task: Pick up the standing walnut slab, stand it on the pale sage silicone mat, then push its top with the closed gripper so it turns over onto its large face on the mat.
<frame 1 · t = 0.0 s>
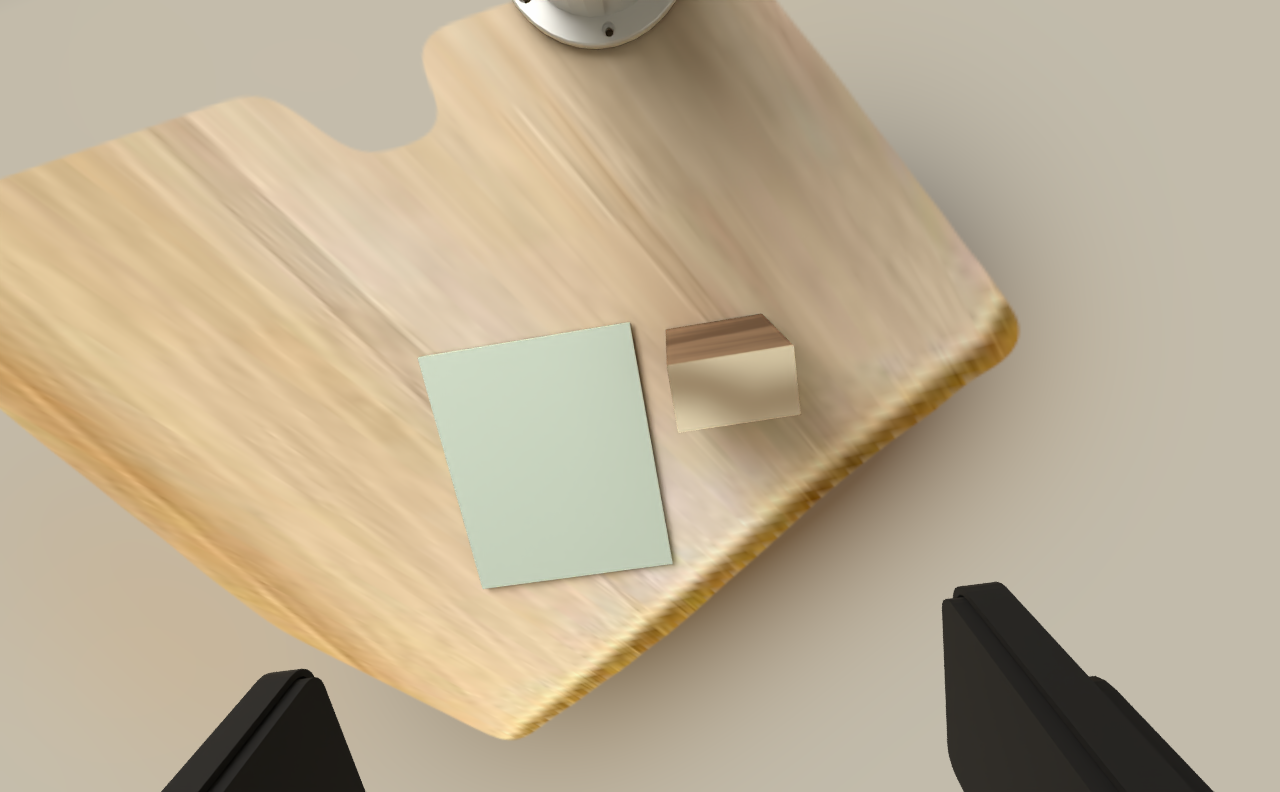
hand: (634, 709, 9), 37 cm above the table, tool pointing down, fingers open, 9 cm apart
walnut slab: (717, 348, 45), on the table
sage mat: (551, 463, 48), on the table
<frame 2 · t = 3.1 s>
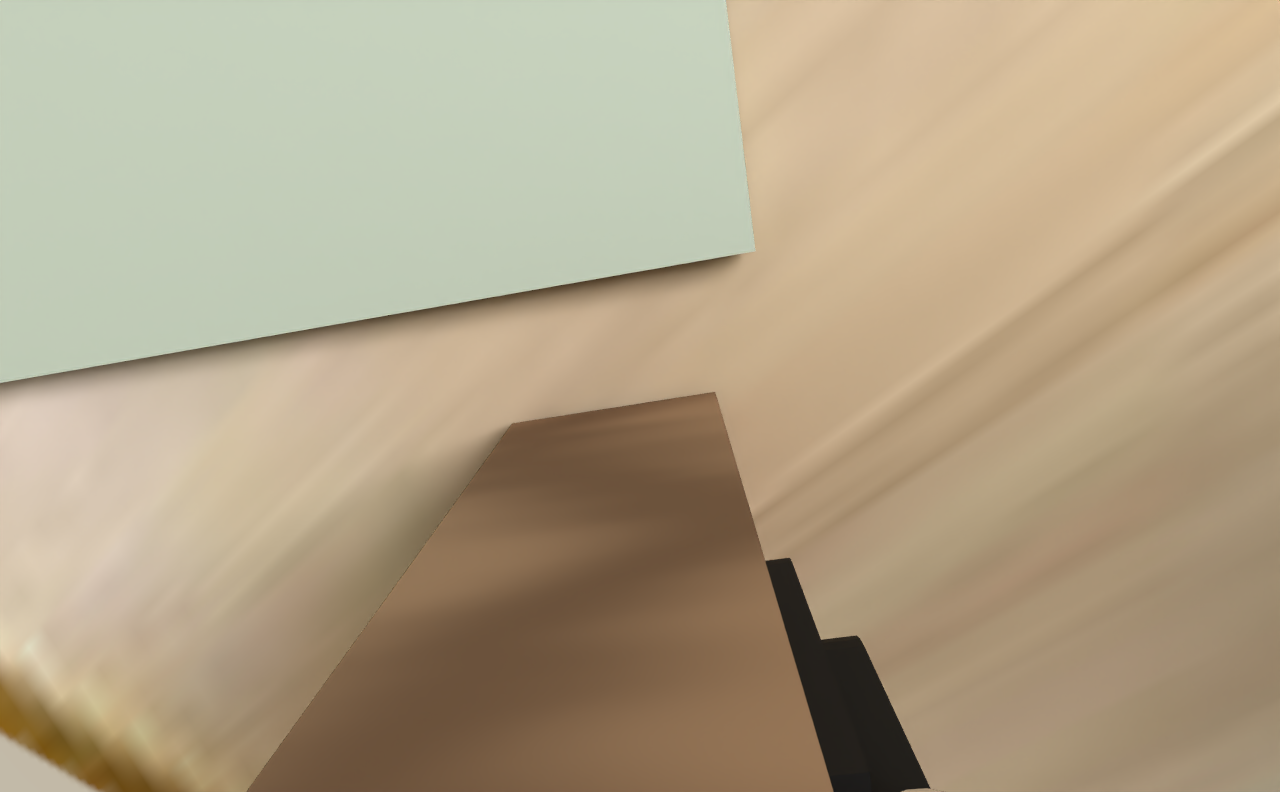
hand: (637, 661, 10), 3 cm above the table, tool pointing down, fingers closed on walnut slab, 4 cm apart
walnut slab: (642, 565, 13), on the table, touching gripper
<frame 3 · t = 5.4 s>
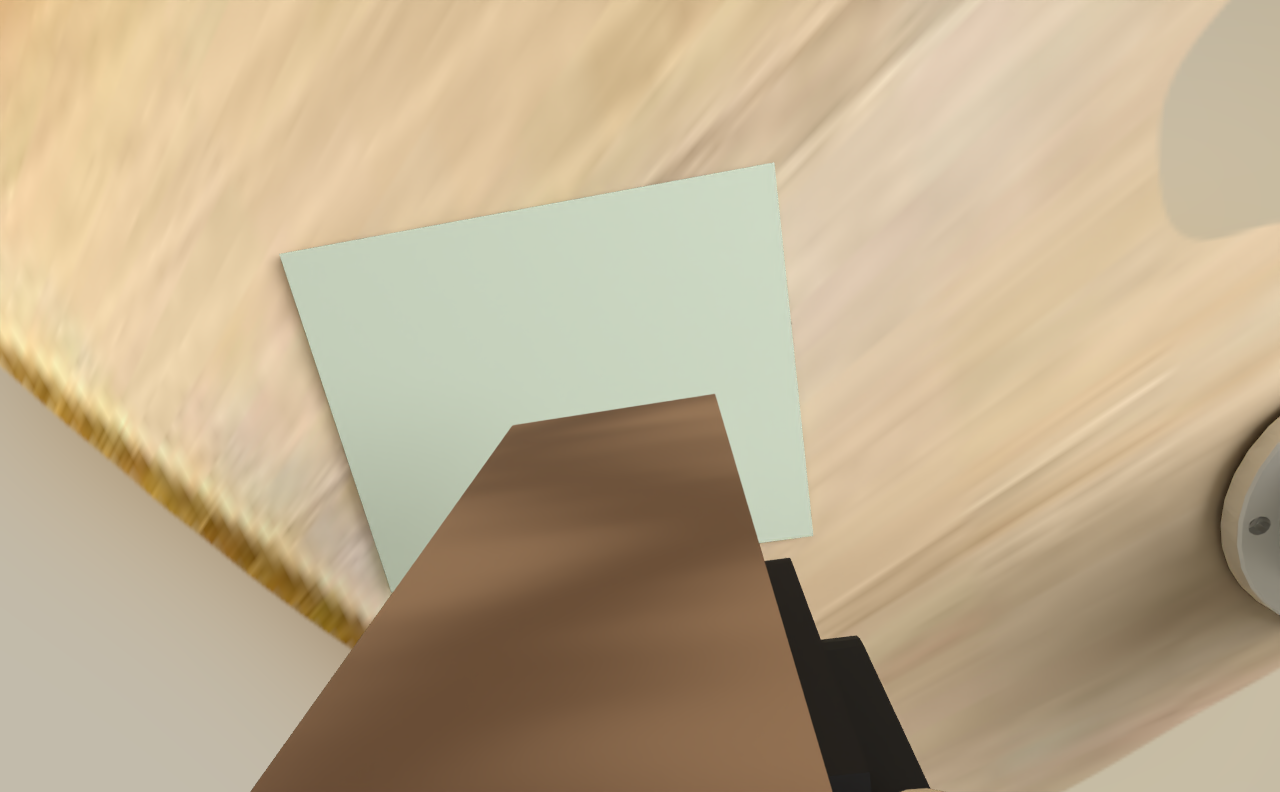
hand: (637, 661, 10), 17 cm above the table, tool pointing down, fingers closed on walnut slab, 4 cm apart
walnut slab: (643, 566, 13), point 14 cm above the table, touching gripper
sage mat: (561, 399, 26), on the table
when the fingers open (4 cm above the table, at t = 8.0 s): walnut slab stays where it is, resting on sage mat.
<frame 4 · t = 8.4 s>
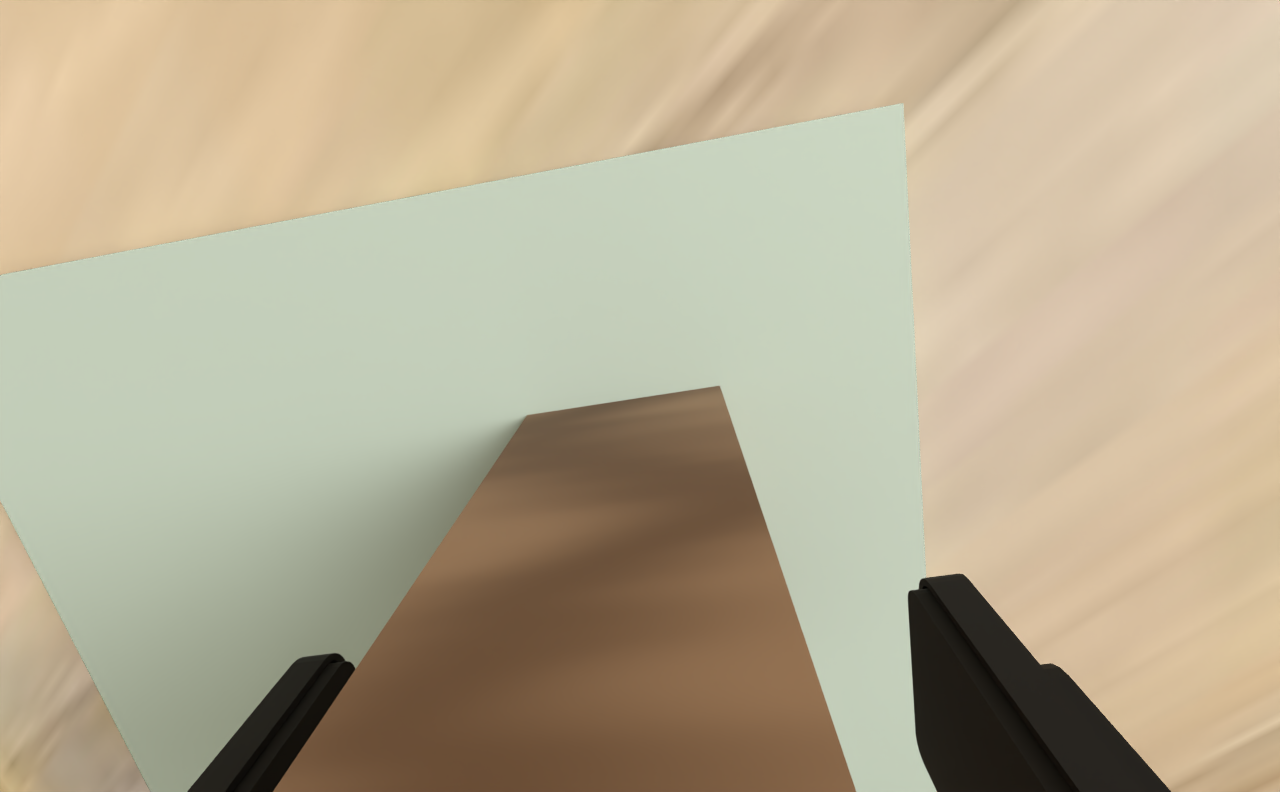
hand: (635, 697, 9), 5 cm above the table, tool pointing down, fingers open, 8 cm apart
walnut slab: (650, 550, 13), resting on sage mat
sage mat: (473, 563, 14), on the table
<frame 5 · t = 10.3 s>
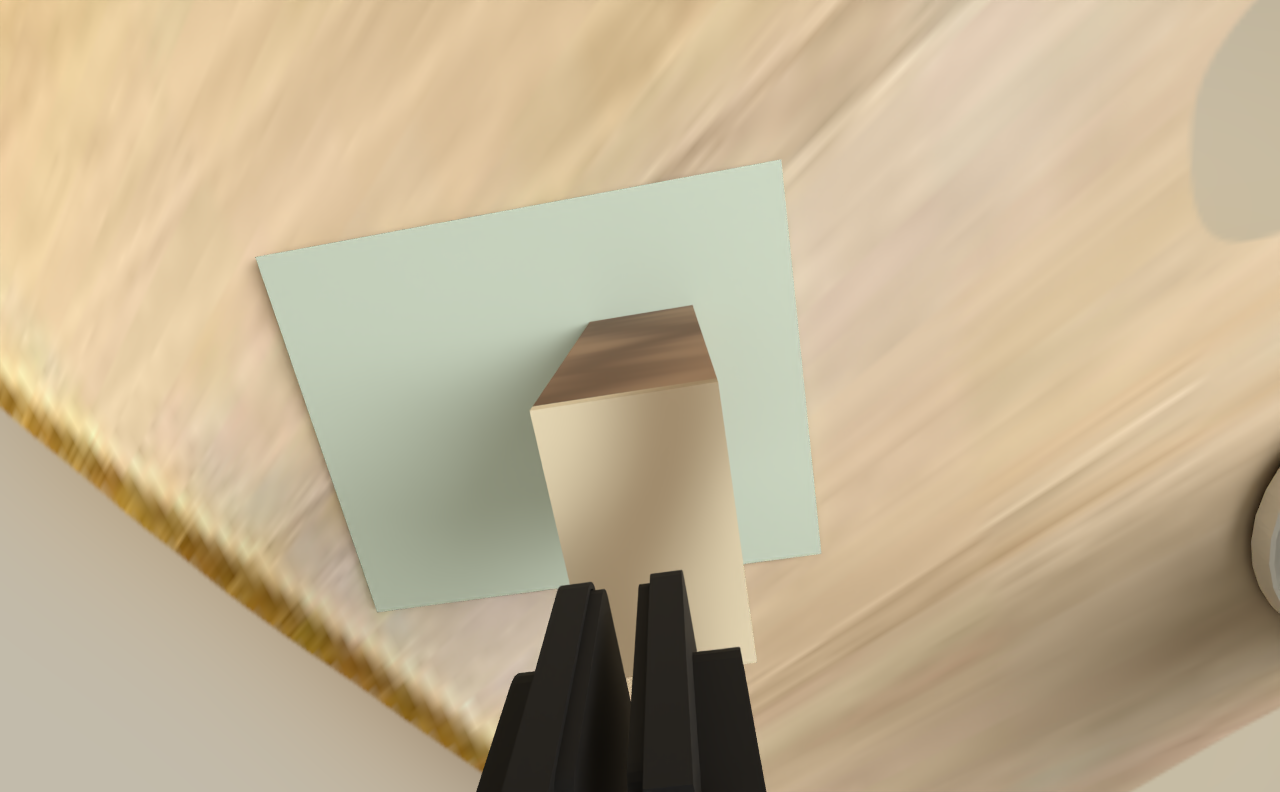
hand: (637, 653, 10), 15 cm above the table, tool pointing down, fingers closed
walnut slab: (655, 399, 24), resting on sage mat
sage mat: (555, 410, 25), on the table
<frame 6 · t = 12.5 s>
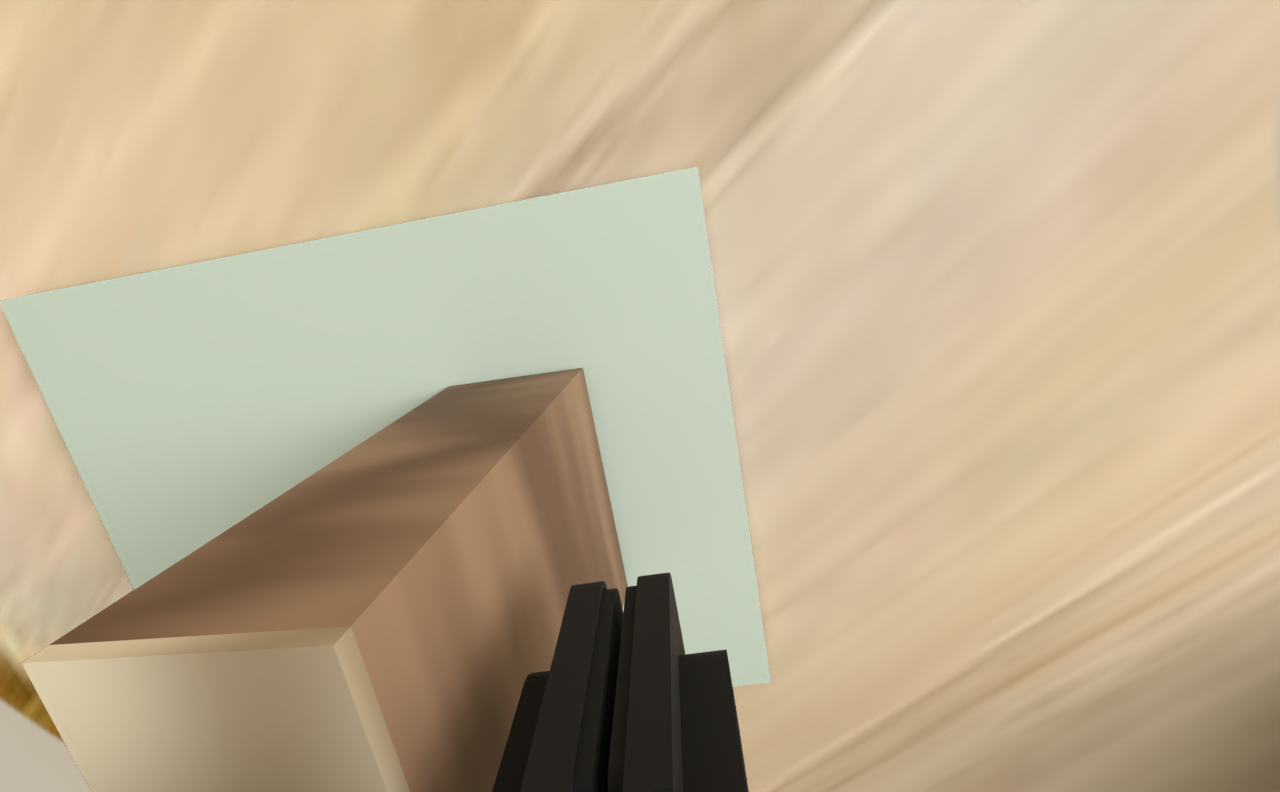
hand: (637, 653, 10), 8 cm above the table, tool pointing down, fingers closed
walnut slab: (541, 490, 18), point 1 cm above the table, tilted 5°, touching gripper, sage mat
sage mat: (416, 498, 19), on the table
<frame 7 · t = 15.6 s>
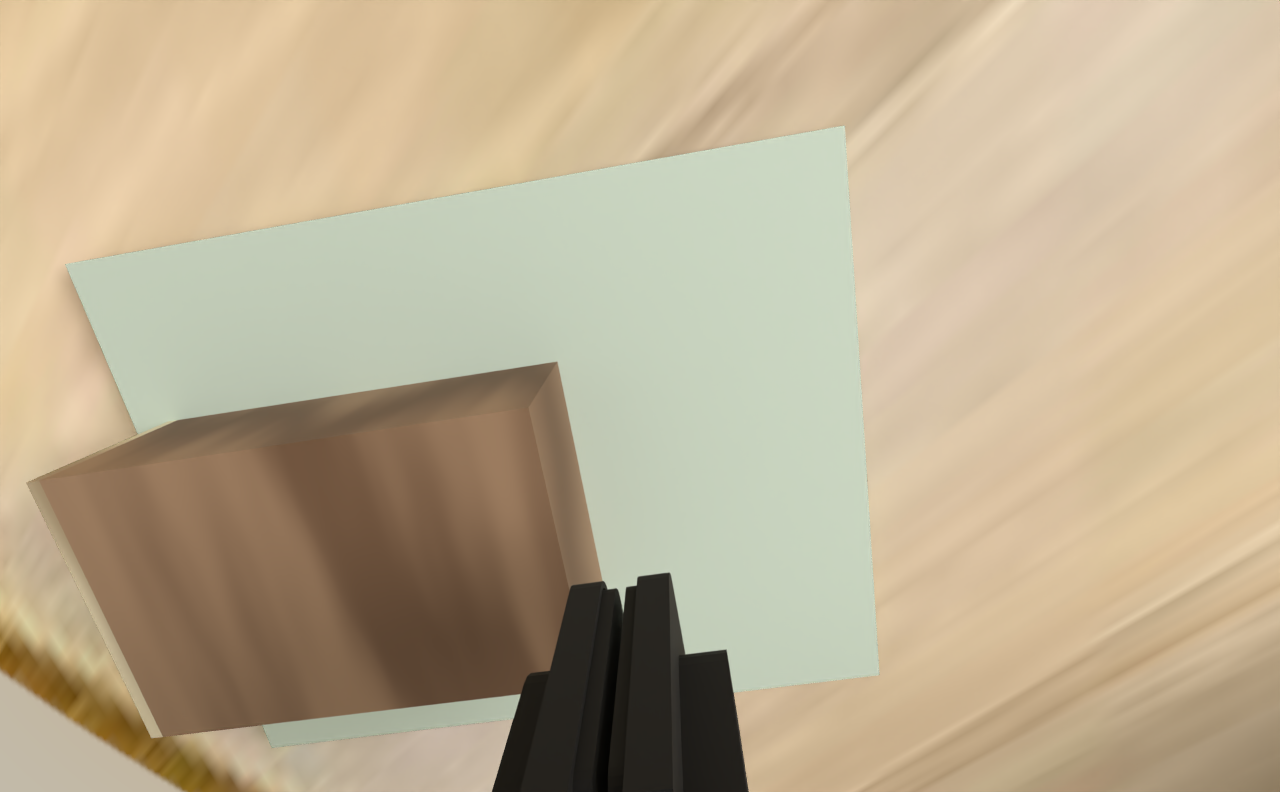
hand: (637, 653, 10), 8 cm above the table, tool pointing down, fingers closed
walnut slab: (573, 513, 15), point 2 cm above the table, tilted 90°, touching sage mat
sage mat: (513, 482, 18), on the table
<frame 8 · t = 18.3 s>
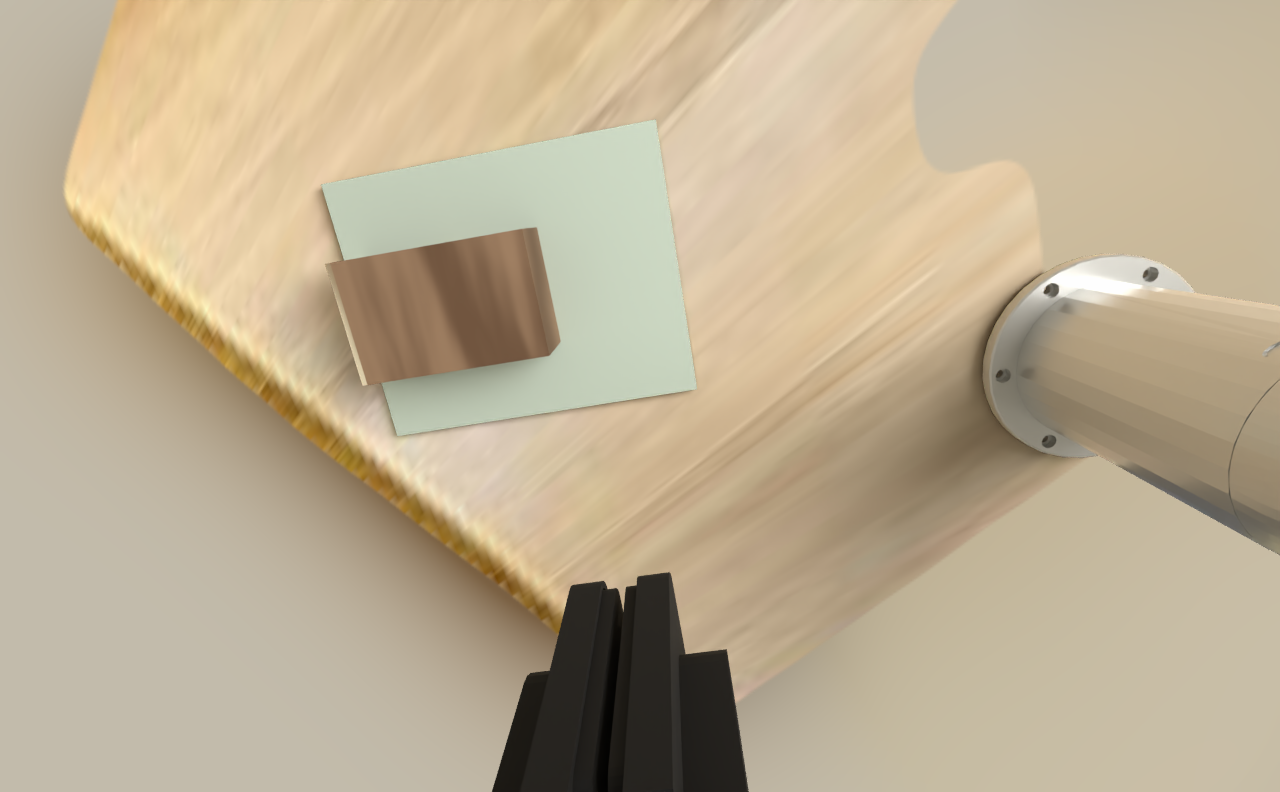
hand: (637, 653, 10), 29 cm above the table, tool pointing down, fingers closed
walnut slab: (543, 289, 35), point 2 cm above the table, tilted 90°, touching sage mat
sage mat: (517, 289, 38), on the table
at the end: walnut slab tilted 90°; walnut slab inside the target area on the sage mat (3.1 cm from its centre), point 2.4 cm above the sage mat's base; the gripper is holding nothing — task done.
